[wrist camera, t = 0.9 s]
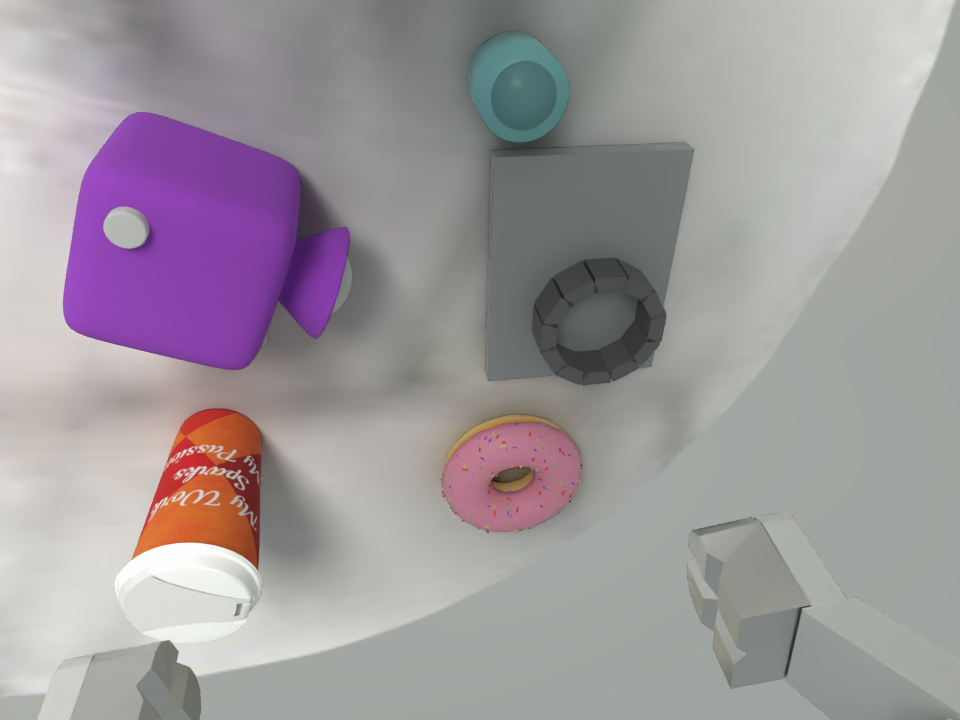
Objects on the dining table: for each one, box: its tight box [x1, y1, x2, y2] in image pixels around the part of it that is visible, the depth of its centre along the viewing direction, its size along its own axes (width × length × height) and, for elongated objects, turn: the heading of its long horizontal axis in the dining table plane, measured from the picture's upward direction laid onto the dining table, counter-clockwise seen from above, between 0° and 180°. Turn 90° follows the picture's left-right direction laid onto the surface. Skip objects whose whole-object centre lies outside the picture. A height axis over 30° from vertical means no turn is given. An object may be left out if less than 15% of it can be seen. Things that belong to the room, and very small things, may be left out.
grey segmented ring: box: [532, 258, 666, 385], centre depth 47 cm, size 8×8×2 cm
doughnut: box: [441, 415, 582, 533], centre depth 55 cm, size 11×11×4 cm
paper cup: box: [115, 409, 263, 643], centre depth 45 cm, size 8×8×14 cm
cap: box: [467, 31, 569, 142], centre depth 38 cm, size 5×5×4 cm
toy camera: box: [63, 112, 352, 370], centre depth 37 cm, size 11×14×10 cm
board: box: [485, 142, 694, 381], centre depth 47 cm, size 16×12×1 cm
